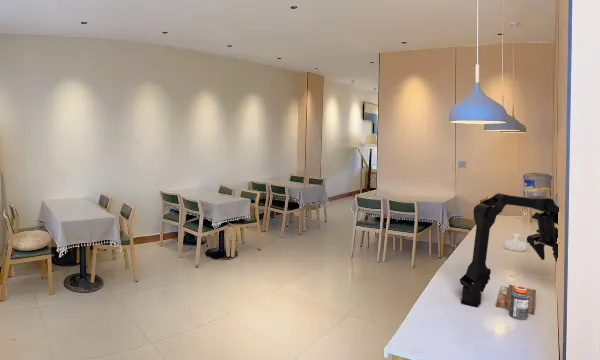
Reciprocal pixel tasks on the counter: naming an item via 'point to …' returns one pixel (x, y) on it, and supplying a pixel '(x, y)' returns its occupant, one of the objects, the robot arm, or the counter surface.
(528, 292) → the socket frame
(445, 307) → the counter surface
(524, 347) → the counter surface
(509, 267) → the counter surface
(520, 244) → the white tied bag
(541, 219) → the robot arm
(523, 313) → the pill bottle
